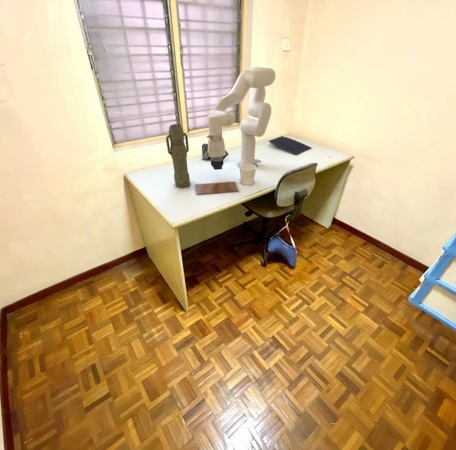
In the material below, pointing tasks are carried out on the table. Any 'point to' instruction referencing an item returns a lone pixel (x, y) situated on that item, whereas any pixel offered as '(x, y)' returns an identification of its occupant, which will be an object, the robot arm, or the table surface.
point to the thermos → (178, 155)
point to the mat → (216, 188)
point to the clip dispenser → (217, 163)
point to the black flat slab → (289, 145)
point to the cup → (247, 174)
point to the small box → (204, 151)
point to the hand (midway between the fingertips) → (217, 165)
